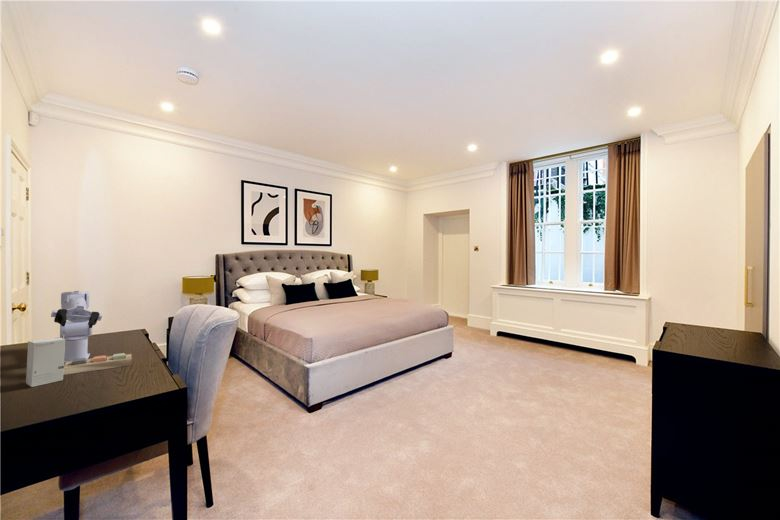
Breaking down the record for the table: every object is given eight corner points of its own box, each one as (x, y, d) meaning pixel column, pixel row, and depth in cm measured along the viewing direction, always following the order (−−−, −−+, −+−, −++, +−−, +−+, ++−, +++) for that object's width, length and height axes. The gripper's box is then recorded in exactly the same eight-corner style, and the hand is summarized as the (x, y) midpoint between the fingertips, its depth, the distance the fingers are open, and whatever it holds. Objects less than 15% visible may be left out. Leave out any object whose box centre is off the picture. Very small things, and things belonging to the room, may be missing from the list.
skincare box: (31, 387, 110) (31, 343, 110) (25, 383, 113) (26, 340, 113) (65, 380, 117) (65, 338, 117) (58, 376, 120) (59, 335, 120)
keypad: (66, 368, 129) (66, 361, 129) (131, 359, 141) (131, 353, 141) (62, 375, 122) (62, 368, 122) (131, 365, 134) (131, 359, 134)
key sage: (113, 359, 135) (113, 354, 135) (124, 358, 137) (124, 352, 137) (112, 362, 132) (113, 356, 132) (124, 360, 135) (124, 355, 135)
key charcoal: (73, 364, 128) (73, 359, 128) (85, 363, 130) (85, 357, 130) (71, 367, 125) (71, 361, 125) (84, 365, 127) (84, 360, 127)
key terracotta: (93, 362, 132) (94, 356, 131) (105, 360, 134) (105, 355, 134) (92, 364, 129) (93, 359, 129) (105, 363, 131) (105, 357, 131)
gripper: (55, 298, 128) (55, 312, 119) (103, 303, 138) (106, 317, 129) (49, 314, 128) (48, 330, 119) (97, 318, 139) (99, 333, 129)
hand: (78, 324), depth 124 cm, fingers open, 7 cm apart
